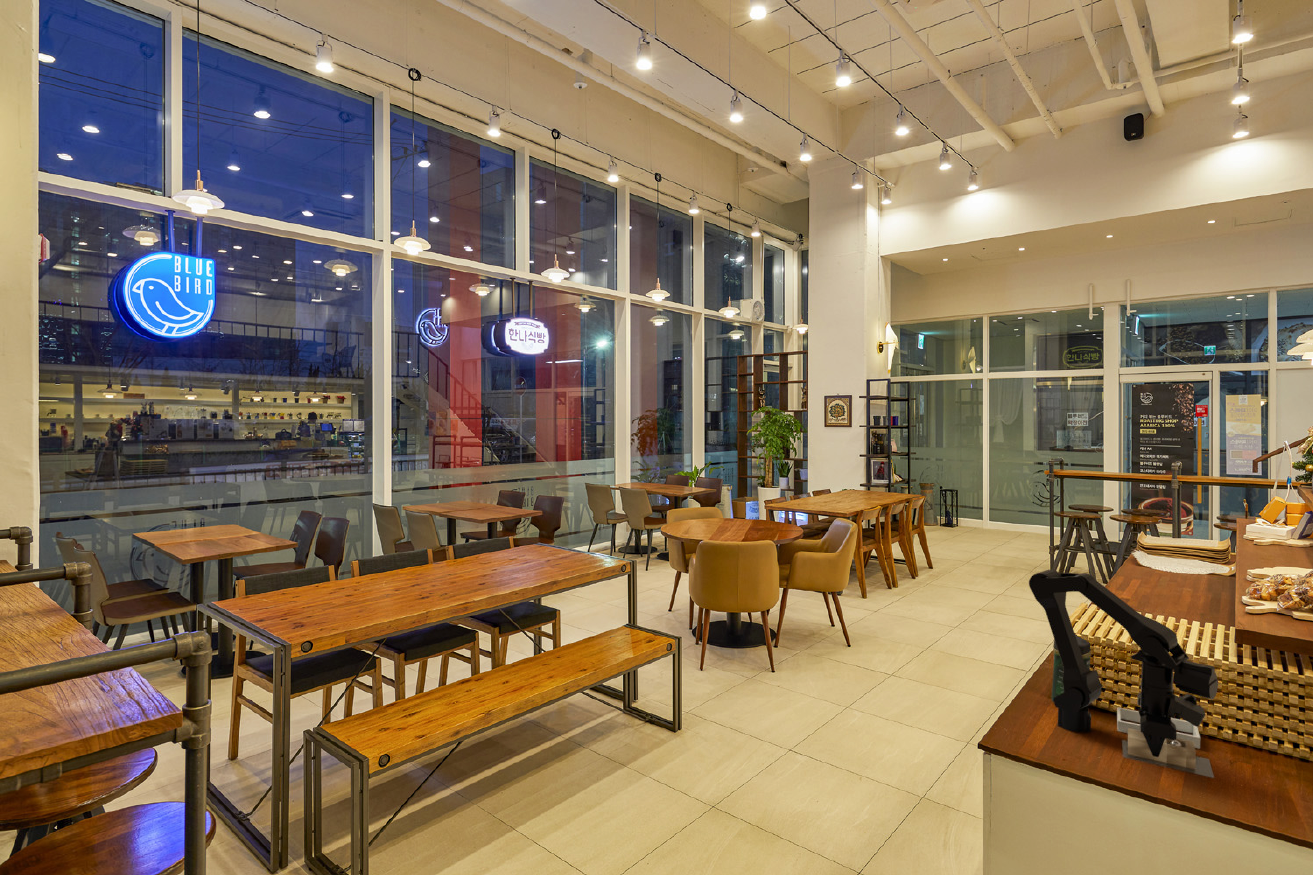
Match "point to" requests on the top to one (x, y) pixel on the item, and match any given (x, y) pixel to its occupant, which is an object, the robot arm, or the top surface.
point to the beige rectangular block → (1163, 750)
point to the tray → (1179, 724)
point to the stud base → (1200, 767)
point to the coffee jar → (1058, 666)
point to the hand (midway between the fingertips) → (1154, 750)
